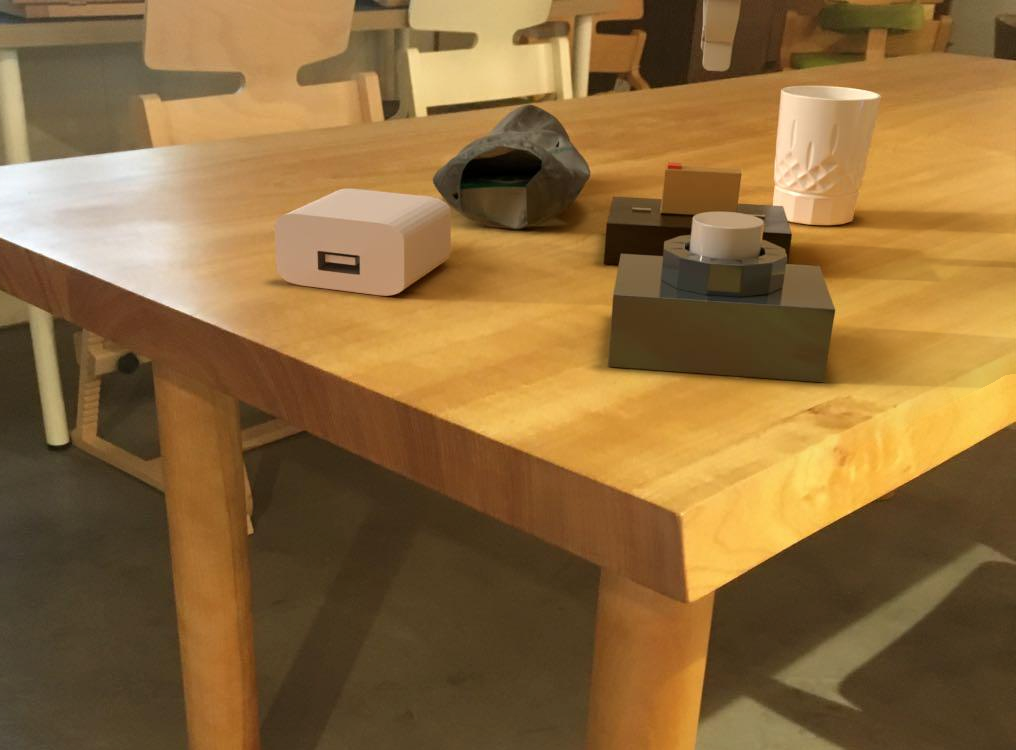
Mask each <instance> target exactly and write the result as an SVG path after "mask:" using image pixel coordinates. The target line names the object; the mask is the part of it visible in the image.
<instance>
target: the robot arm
mask: <svg viewBox="0 0 1016 750" xmlns="http://www.w3.org/2000/svg"><path fill="white" fill-rule="evenodd" d="M702 2H703V5H702V31H701V40H700V50H701V52H702V67H703V69H704V70H706V71H707V72H708V71H709V72H711V71H712V72H725V71H727V70H729V69H730V66H731V60H732V54H733V53H732V52H733V45H734V40H735V36H736V31H737V28H738V23H739V19H740V13H741V5H742V4H741V3H742V0H703V1H702Z"/></svg>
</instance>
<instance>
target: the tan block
mask: <svg viewBox="0 0 1016 750" xmlns="http://www.w3.org/2000/svg"><path fill="white" fill-rule="evenodd" d="M663 171H664V172H663V182H662V193H661V199H662V202H661V213H665V214H683V215H697V214H700V213H705V212H735V213H737V207H738V204H739V198H740V190H741V182H742V169H741V168H725V167H723V168H722V167H705V166H689V165H686V166H685V165H683V163H682V162H674V161H673V162H670V161H668V162H667V164H665V165H664V170H663Z"/></svg>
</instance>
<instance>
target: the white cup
mask: <svg viewBox="0 0 1016 750" xmlns="http://www.w3.org/2000/svg"><path fill="white" fill-rule="evenodd" d="M779 99H780V100H779V107H778V119H777V129H776V130H777V131H776V139H775V140H776V141H775V157H774V170H773V171H774V173H773V182H774V186H773V199H772V205H773V206H783V207H784V211H785V214H786V217H787V220H788V222H789V223H790V222H791V223H795V224H803V225H812V226H838V225H845V224H847V223H850V222H853V220H854V215H855V211H856V207H857V202H858V201H857V200H858V196H859V191H860V189H861V188H862V187H863V179H864V176H865V173H866V169H867V165H868V160H869V156H870V151H871V146H872V142H873V137H874V133H875V132H874V131H875V128H876V123H877V118H878V113H879V108H880V105H881V99H882V95H881V94H880V93H877V92H875V91H870V90H865V89H861V88H854V87H843V86H833V85H832V86H831V85H795V86H794V85H793V86H786V87H783V88H782V89H781V90H780V98H779Z"/></svg>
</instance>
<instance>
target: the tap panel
mask: <svg viewBox="0 0 1016 750" xmlns="http://www.w3.org/2000/svg"><path fill="white" fill-rule="evenodd" d="M661 202H662V198H647V197H646V198H645V197H633V196H632V197H631V196H612V198H611V203H610V207H609V212H608V216H607V220H606V227H605V241H604V242H605V243H604V253H603V264H604V265H610V266H611V265H612V266H619V260H620V255H621V254H634V255H650V256H663V249H664V242H665V241H667V240H670V239H673V238H676V237H679V236H684V235H691V227H692V218H693V217H694V216H695V215H683V214H665V213H661ZM737 213H742V214H747V215H752V216H755V217H758V218H760V219H761V220H763V222H764V228H763V236H762V240H766V241H768V242H770V243H773V244H775V245H777V246H779V247H782V248H784V249H785V252H786V255H787V262H786V264H789V260H790V253H791V252H790V251H791V245H792V238H793V233H792V230H791V227H790V224H789V223H790V222H789V221H788V220H787V217H786V214H785V211H784V207H783V206H773V204H772V205H770V204H754V203H738V207H737Z"/></svg>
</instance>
